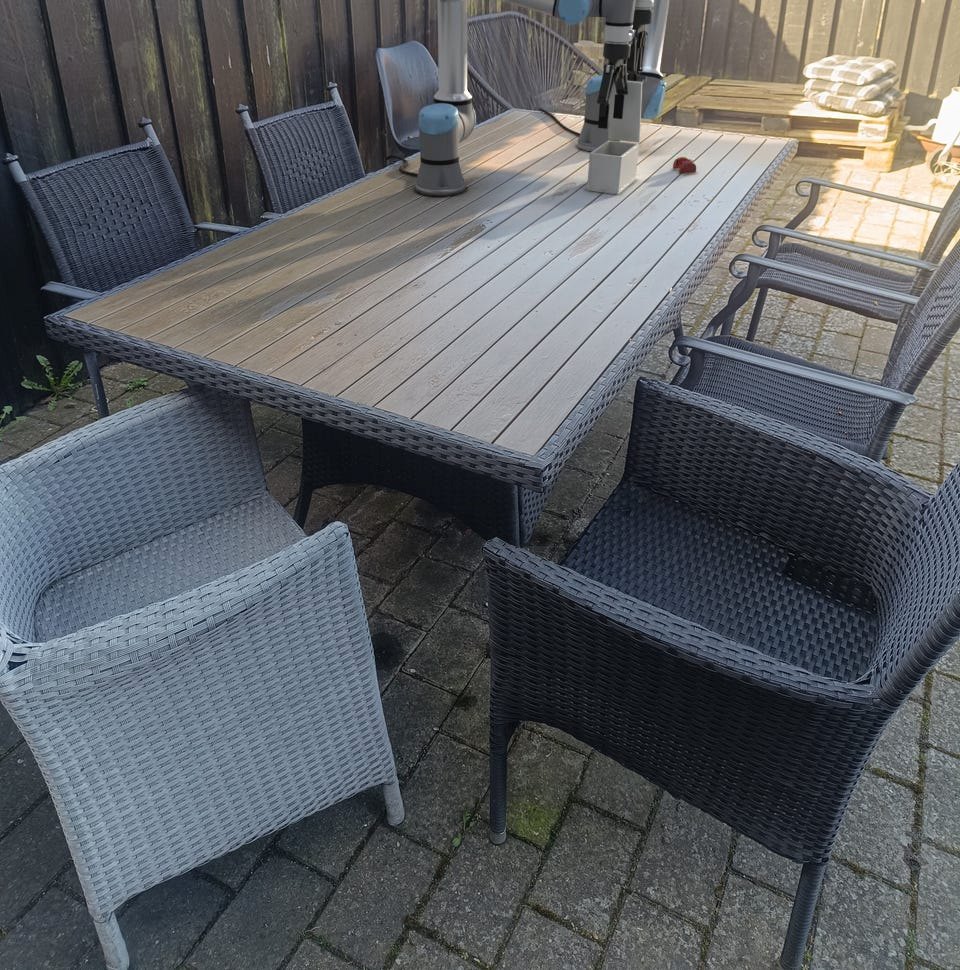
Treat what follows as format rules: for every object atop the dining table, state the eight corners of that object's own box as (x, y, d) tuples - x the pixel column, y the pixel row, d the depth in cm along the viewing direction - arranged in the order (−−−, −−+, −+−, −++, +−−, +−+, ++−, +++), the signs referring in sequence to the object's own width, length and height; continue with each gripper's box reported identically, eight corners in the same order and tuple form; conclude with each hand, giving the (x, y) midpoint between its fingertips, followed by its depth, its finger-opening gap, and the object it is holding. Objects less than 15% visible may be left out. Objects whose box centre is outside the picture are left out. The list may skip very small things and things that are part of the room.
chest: (618, 194, 254) (621, 157, 248) (586, 190, 258) (589, 153, 252) (635, 179, 267) (639, 143, 261) (605, 175, 271) (608, 140, 264)
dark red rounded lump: (688, 153, 276) (699, 160, 270) (686, 166, 279) (697, 173, 272) (672, 155, 275) (682, 161, 269) (670, 168, 278) (681, 175, 271)
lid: (641, 83, 247) (650, 70, 252) (608, 80, 250) (618, 68, 256) (639, 142, 260) (648, 129, 265) (608, 139, 264) (617, 126, 269)
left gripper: (616, 49, 224) (609, 133, 236) (643, 37, 242) (635, 115, 255) (589, 47, 227) (583, 131, 239) (618, 35, 245) (611, 113, 257)
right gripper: (645, 11, 237) (636, 101, 251) (660, 6, 248) (650, 92, 262) (619, 10, 240) (612, 99, 254) (635, 4, 251) (627, 90, 264)
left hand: (610, 123), depth 247 cm, fingers open, 13 cm apart
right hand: (631, 95), depth 258 cm, fingers closed on lid, 2 cm apart
